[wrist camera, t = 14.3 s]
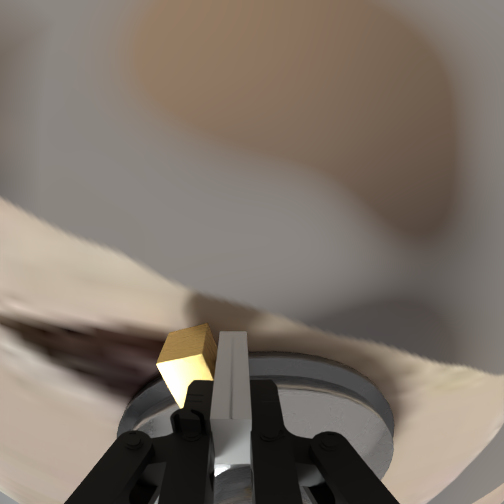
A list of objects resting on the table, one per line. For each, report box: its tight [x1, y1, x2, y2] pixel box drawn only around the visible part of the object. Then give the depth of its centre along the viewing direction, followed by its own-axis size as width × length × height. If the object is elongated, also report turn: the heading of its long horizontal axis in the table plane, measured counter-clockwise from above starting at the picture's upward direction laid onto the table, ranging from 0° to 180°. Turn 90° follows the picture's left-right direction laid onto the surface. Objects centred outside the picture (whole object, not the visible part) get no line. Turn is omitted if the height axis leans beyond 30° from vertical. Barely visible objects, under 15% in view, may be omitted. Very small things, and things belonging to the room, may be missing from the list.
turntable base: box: [117, 351, 394, 439], centre depth 21 cm, size 24×24×1 cm
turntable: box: [131, 323, 394, 504], centre depth 18 cm, size 22×26×3 cm
